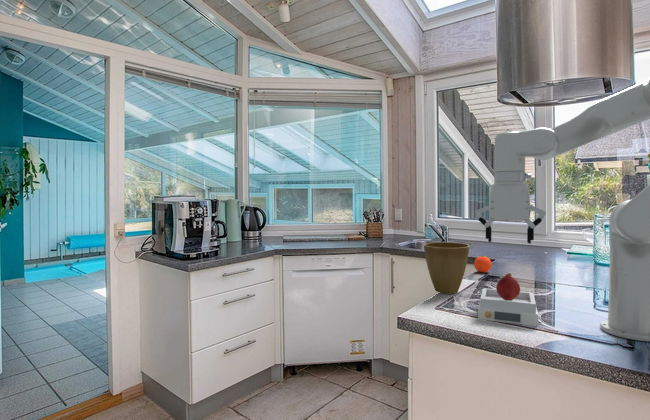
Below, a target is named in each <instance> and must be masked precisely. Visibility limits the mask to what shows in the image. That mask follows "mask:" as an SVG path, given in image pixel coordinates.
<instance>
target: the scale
mask: <svg viewBox="0 0 650 420" xmlns="http://www.w3.org/2000/svg"><path fill="white" fill-rule="evenodd" d="M481 290H482V291H481V295H480V300H479V303H478V307H477V320H483V321H491V322H499V323H508V324H516V325H524V326H533V327H538V326H539V312H538V309H537V302H536V298H535V295H534V292H530V291H521V290H520V293H519V295H518V296H517V297H516V298H515V299H513V300H512V301H509V300H504V299H503V298H501V297H500V296H499V294H498V293H497V289H496V288H486V287H482V289H481Z"/></svg>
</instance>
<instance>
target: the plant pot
mask: <svg viewBox="0 0 650 420" xmlns="http://www.w3.org/2000/svg"><path fill="white" fill-rule="evenodd" d="M423 249H424V256H425V257H424V258H425V261H426V266H427V269H428V273H429V276H430V280H431V282H432V285H433V288H434V291H435V292H437V293H441V294H449V295H450V294H457V293H458V292H459V289H460V287H461V284H462V282H463V279H464V276H465V273H466V268H467V263H468V258H469V253H470V244H467V243H462V242H454V241H453V242H450V241H448V242H445V241H444V242H443V241H441V242H440V241H439V242H426V243H424V244H423Z"/></svg>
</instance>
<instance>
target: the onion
mask: <svg viewBox="0 0 650 420" xmlns="http://www.w3.org/2000/svg"><path fill="white" fill-rule="evenodd" d="M495 289H497V293H498V294H499V296H500V297H501V298H503V299H504V300H509V301H512V300H513V299H515V298H516V297H517V296H518V295H519V293H520V291H521V287H520V284H519V282H518V281H517V279H516V278H514V277H513V276H512V273H511V272H507V273H506V274H505V275H504V276H503V277H501V278H500V279H499V280H498V281H497V283H496V288H495Z"/></svg>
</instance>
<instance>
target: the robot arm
mask: <svg viewBox="0 0 650 420" xmlns="http://www.w3.org/2000/svg"><path fill="white" fill-rule="evenodd" d="M647 120H650V77H649V78H648V79H647V80H644V81H642V82H639V83H637V84H635V85H633V86H630V87H628V88H626V89H624V90H621V91H620V92H616V93H614V94H611V95H609V96H607V97H604V98H602V99H600V100H598V101H596V102H594V103H593V104H592V105H590V106H588V107H587V108H586V109H585V110H584V111H582V112H581V113H580V114H578V115H577V116H575V117H573V118H572V119H570V120H568V121H565V122H563V123H561V124H559V125H557V126H555V127H552V128H548V127H537V128H533V129H529V130H524V131H507V132H501V133H498V134H497V135H495V138H494V155H493V156H494V161H493V163H494V164H493V165H494V167H493V168H494V169H493V171H494V173H493V174H494V175H493V176H494V177H493V178H494V179H493V181H494V182H493V184H491V186H490V190H489V199H488V205H485V206H484V207H481V208H479V209H478V210H475V211H474V214H475V216H476V218H477V219H478V221H479V222H480V223H481V224H482V225H483V226H484V228H485V239H486V240H488V241H487V242H488V243H491V242H492V233H493V232H492V227H491V226H492V224H493V223H494V222H495V221H497V222H498V221H499V222H500V221H501V222H525V223H526V224H527V226H528V227H527V229H526V232H527V235H526V242H527V244H530V245H531V244H532V241H534V240H535V238H534V236H535V235H534V234H535V232H534V231H535V228H536V227H537V226H538V225H539V224H540V223H541V222H542V221H543V219H544V218H545V216H546V215H547V212H546V211H545V210H542V209H540V208H539V207H537V206H533V205H532V204H531V195H530V187H529V184H528V183H526V181H528V180H532V173H526V157H527V158H533V159H535V160H538V161H546V160H550V159H553V158H555V157H557V156H561V155H563V154H565V153H567V152H571V151H573V150H575V149H578V148H580V147H583V146H584V145H585V146H586V145H587V144H589V143H592V142H594V141H595V142H596V141H598V140H601V139H604V138H606V137H608V136H610V135H612V134H616V133H619V132H621V131H623V130H625V129H627V128H629V127H631V126H632V127H633V126H634V125H638V124H639V123H642V122H645V121H647ZM487 211H488V216H489V219H488V220H486V219H485V218H484V217H483V215H482V214H483V213H485V212H487ZM531 211H532V212H533V213H537V214H538V215H537V217H536V219H535V220H533V221H532V220H531V219H530V218H531ZM608 225H609V230H608V231H609V267H608V268H609V270H608V271H609V276H608V277H609V278H608V305H607V306H608V308H607V309H608V313H607V314H608V316H607V319H605V320H602V321H601V322H600V323H599V327H600V329H601V330H602V331H604V332H605V333H608V334H610V335H613V336H616V337H620V338H623V339H628V340H633V341H638V342H639V341H640V342H648V343H649V342H650V183H649V184H648V185H647V186H646V187H644V188H643V189H642V190H641V191H640V192H638V194H636V195H635V196H634V197H633V198H631V199H628V200H625V201H622V202H620V203H619V204H617V205H616V206H615V207H614V208H613V210H612V211H611V213H610V216H609V224H608Z"/></svg>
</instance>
